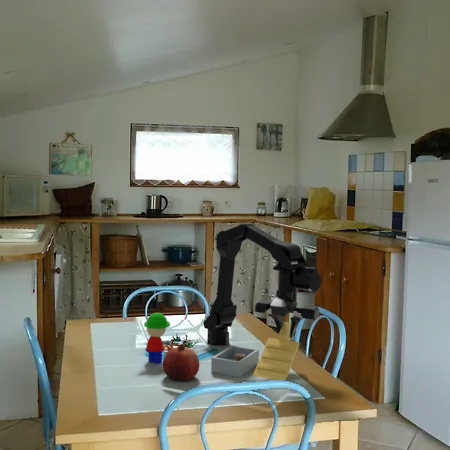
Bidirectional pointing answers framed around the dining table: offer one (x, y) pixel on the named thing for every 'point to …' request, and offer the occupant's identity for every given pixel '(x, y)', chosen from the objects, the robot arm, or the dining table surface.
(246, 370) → the tub
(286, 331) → the lid
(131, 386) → the dining table surface
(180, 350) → the fruit
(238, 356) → the part block
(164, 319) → the toy
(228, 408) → the dining table surface
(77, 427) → the dining table surface
